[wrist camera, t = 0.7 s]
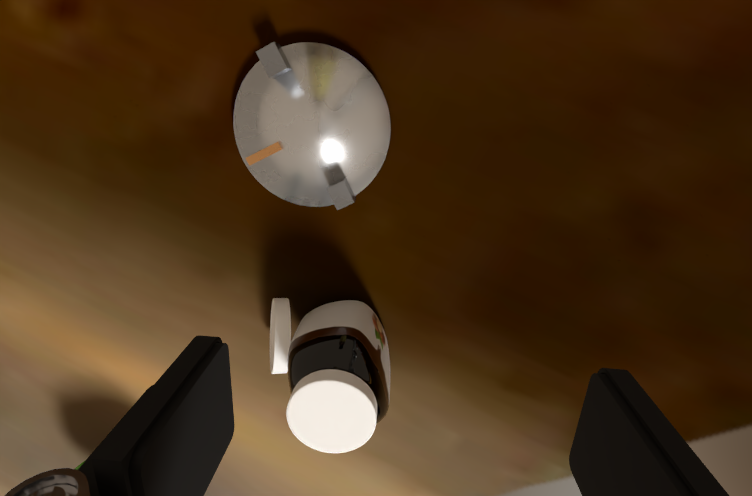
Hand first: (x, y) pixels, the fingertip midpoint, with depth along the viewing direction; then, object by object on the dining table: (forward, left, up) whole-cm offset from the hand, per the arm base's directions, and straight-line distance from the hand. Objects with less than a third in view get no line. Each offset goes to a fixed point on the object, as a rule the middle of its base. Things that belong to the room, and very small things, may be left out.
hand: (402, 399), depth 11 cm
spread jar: (+13, +10, -28) cm, 33 cm away
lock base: (+5, -8, -28) cm, 29 cm away
